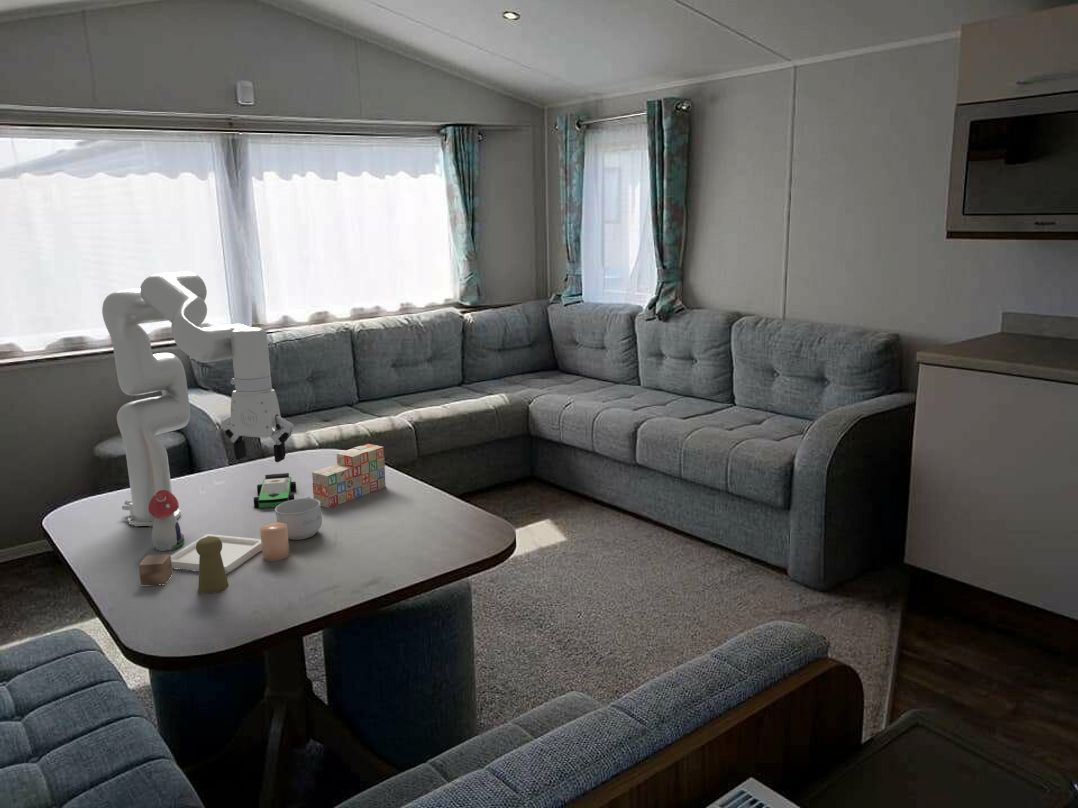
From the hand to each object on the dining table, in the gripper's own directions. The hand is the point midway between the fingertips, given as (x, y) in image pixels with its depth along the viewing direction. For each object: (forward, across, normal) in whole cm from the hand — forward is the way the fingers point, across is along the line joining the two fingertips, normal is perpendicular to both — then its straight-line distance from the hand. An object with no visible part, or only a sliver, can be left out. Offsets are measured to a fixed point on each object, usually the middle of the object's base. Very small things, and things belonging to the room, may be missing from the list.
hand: (260, 459), depth 187 cm
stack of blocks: (+24, -1, +45) cm, 51 cm away
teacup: (+24, 0, +16) cm, 29 cm away
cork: (+24, -4, -16) cm, 29 cm away
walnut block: (+24, -18, -15) cm, 34 cm away
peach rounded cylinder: (+24, 0, +2) cm, 24 cm away
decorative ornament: (+24, -28, +2) cm, 37 cm away
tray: (+24, -13, -2) cm, 27 cm away
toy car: (+24, -21, +39) cm, 50 cm away
